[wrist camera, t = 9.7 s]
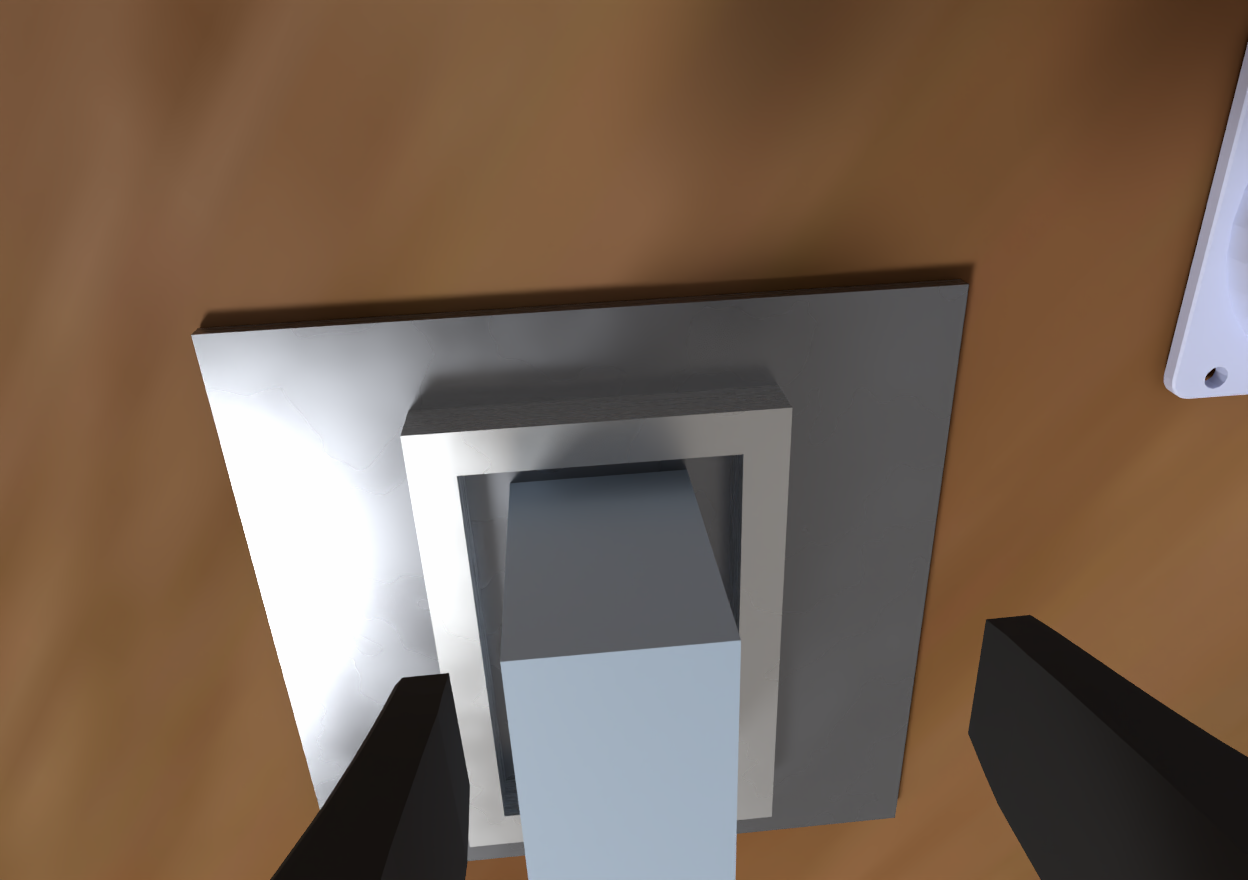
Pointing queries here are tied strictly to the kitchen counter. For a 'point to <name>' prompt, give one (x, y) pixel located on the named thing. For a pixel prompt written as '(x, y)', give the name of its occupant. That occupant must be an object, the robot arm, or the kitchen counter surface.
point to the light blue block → (620, 681)
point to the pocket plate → (590, 447)
